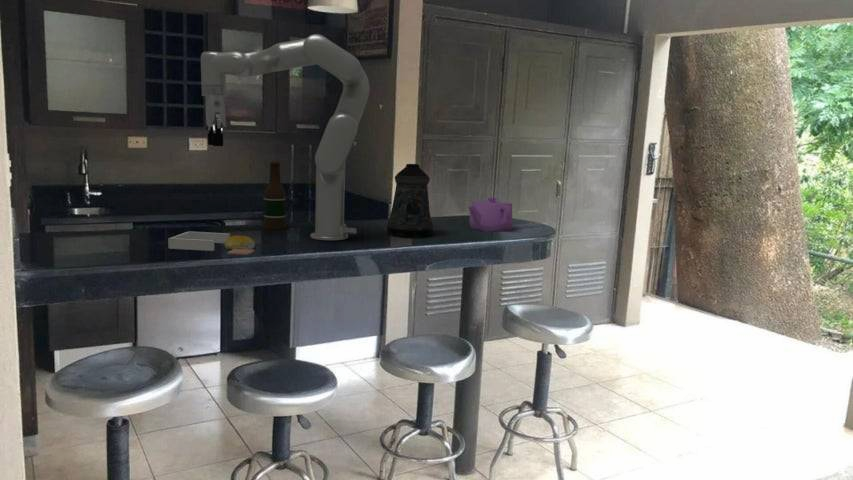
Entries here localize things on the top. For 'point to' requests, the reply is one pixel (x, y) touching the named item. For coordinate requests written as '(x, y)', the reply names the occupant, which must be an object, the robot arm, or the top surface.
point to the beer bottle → (274, 200)
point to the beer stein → (410, 205)
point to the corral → (197, 240)
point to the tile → (240, 251)
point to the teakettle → (491, 215)
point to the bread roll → (239, 242)
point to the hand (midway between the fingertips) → (215, 145)
